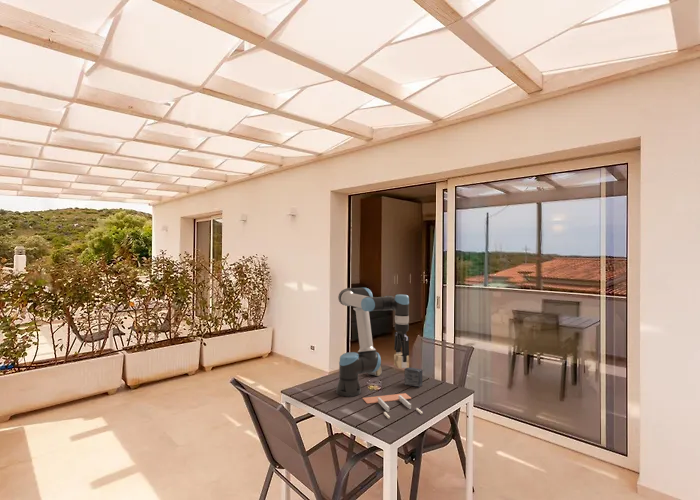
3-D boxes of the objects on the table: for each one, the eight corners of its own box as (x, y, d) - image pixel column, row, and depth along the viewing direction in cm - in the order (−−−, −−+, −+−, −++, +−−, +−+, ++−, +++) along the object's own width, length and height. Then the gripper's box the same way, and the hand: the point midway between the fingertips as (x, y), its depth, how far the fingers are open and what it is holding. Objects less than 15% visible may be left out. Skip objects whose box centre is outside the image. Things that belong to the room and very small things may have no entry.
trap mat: (362, 398, 214) (362, 397, 214) (405, 393, 223) (405, 393, 223) (367, 403, 207) (367, 403, 207) (411, 398, 215) (411, 398, 215)
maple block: (394, 365, 199) (394, 354, 199) (403, 364, 201) (404, 353, 201) (398, 368, 193) (398, 357, 194) (408, 367, 195) (409, 356, 195)
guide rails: (377, 401, 210) (377, 397, 210) (400, 399, 214) (400, 395, 214) (387, 411, 196) (387, 407, 196) (411, 408, 201) (411, 404, 201)
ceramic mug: (376, 377, 252) (377, 366, 253) (366, 375, 257) (367, 364, 257) (384, 374, 261) (384, 363, 261) (374, 371, 266) (374, 361, 266)
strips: (383, 413, 194) (383, 412, 194) (417, 409, 200) (417, 407, 200) (388, 418, 188) (388, 416, 188) (422, 414, 194) (422, 412, 194)
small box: (422, 385, 239) (423, 369, 239) (419, 388, 233) (419, 371, 233) (408, 382, 244) (408, 366, 245) (404, 384, 239) (404, 368, 239)
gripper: (388, 320, 206) (388, 361, 205) (403, 326, 187) (402, 371, 187) (400, 319, 208) (400, 360, 207) (416, 326, 190) (415, 370, 189)
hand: (401, 365), depth 197 cm, fingers closed on maple block, 6 cm apart
